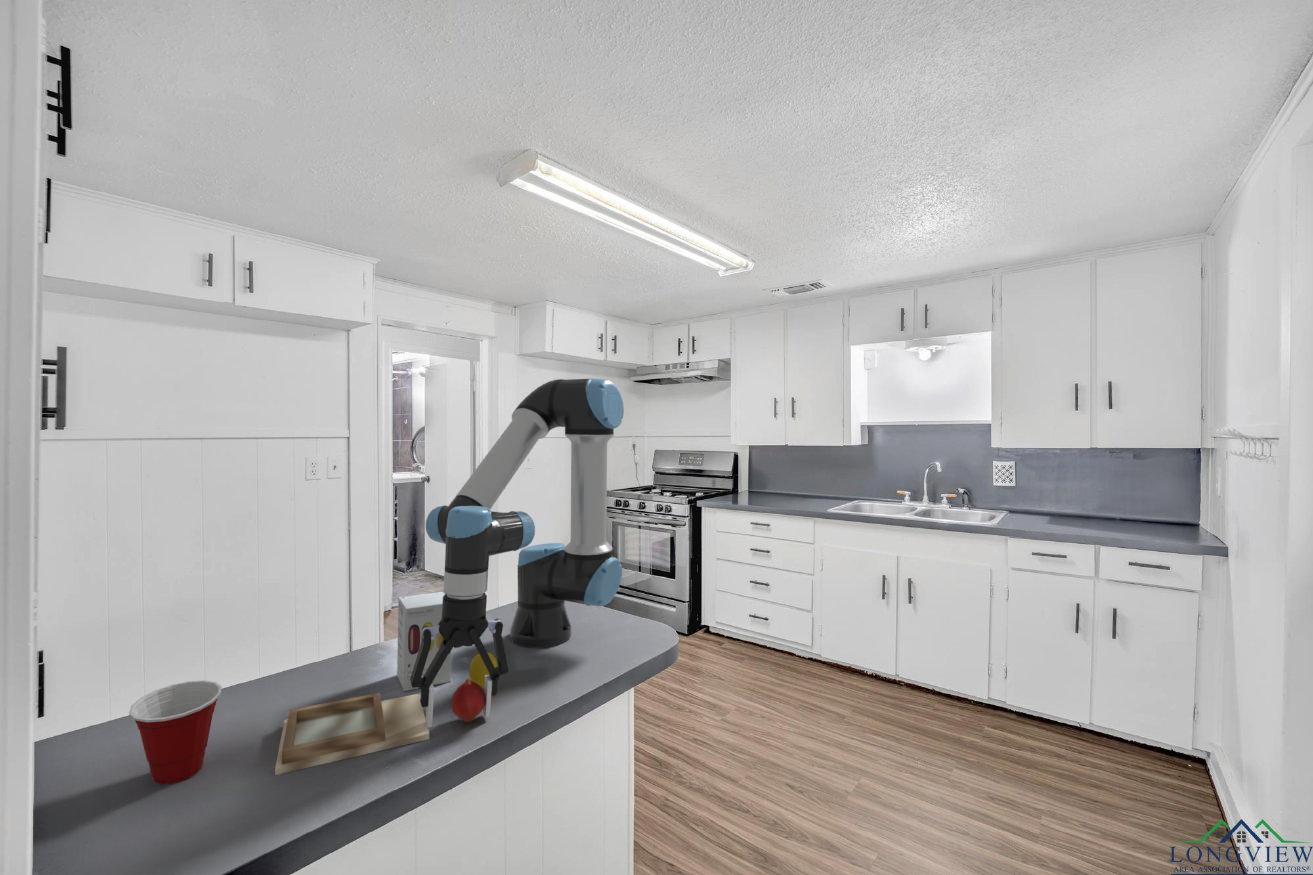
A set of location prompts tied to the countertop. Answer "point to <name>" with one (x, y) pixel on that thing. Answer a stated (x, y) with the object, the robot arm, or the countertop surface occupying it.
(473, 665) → the lemon
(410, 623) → the supplement box
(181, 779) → the plastic cup
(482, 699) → the onion
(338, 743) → the board
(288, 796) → the countertop surface
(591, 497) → the robot arm
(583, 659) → the countertop surface
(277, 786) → the countertop surface
